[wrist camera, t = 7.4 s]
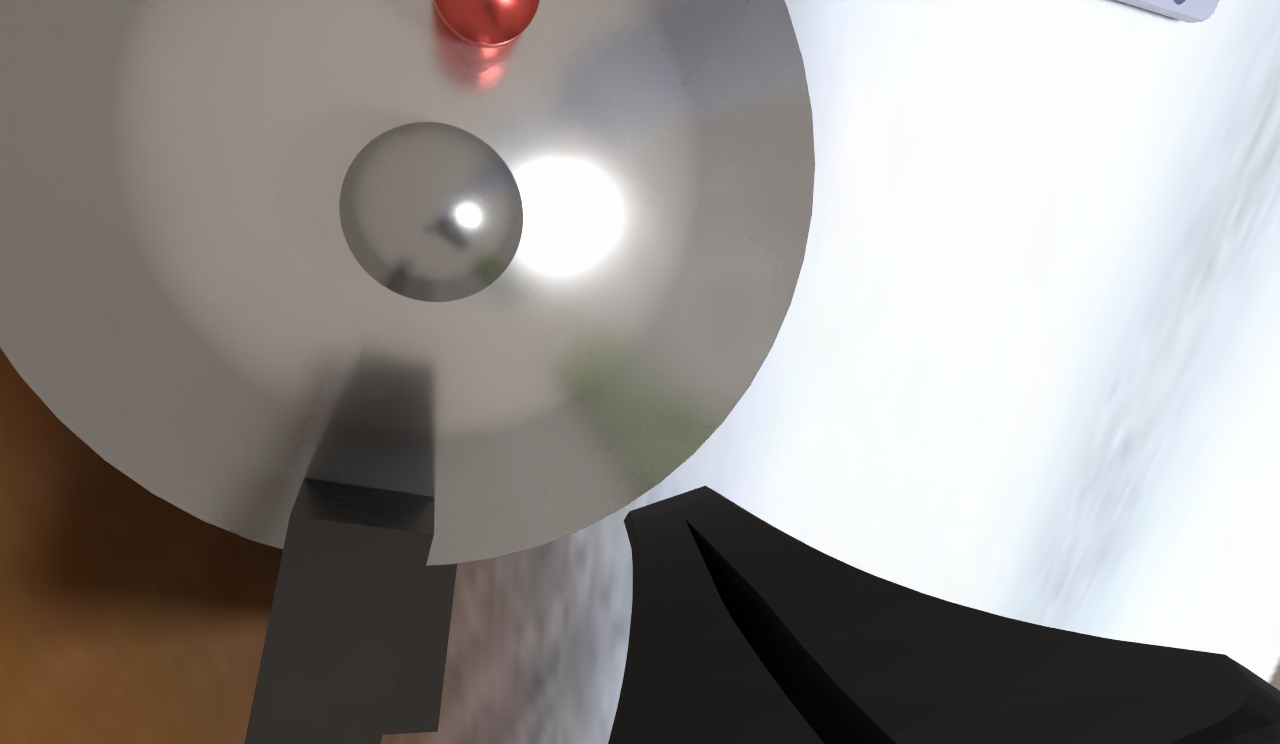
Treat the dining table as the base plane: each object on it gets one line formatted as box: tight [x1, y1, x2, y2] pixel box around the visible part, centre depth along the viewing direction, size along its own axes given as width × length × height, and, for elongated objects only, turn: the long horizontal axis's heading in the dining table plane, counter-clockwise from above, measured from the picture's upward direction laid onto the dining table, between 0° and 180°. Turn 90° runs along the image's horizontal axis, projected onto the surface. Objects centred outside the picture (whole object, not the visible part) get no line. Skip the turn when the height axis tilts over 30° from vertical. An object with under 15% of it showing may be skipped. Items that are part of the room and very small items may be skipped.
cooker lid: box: [0, 0, 815, 744], centre depth 13 cm, size 20×14×2 cm
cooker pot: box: [383, 563, 457, 735], centre depth 17 cm, size 20×14×5 cm
